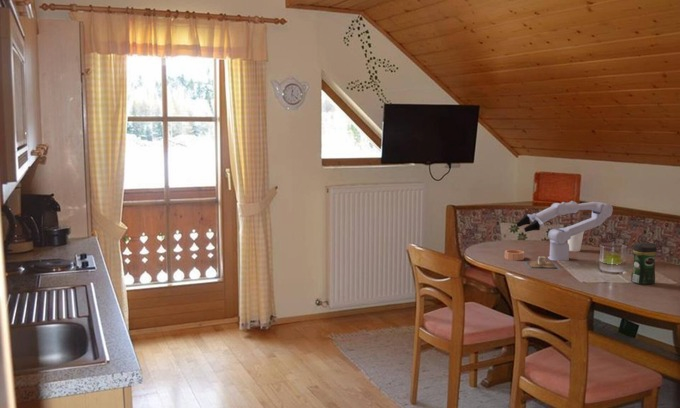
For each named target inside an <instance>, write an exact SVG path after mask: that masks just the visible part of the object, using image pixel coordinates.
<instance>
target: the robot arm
mask: <svg viewBox="0 0 680 408" xmlns="http://www.w3.org/2000/svg"><path fill="white" fill-rule="evenodd" d="M613 208H614V207H613V206H612V205H611V204H610V203H604V202H601V201H588V202H582V203H577V202H576V201H574V200H570V201H569V202H565V201H562V202H561V203H559V202H554V203H552V204H551V205H550V207H547V208H545V209H544V210H543V209H542V210H541V211H539V212H536V213H535V212H534V213H532V214H529V213H528V214H527V213H526V214H524V215H522V218H520V219H519V221H516V226H517V228H520V227H522V226H525V227H524V228H523V229H524V232H525V233H528V232H532V231H540V230H541V228H544V227H545V223H546V222H547V221H550V220H552V219H554V218H555V217H557V216H558V217H559V216H564V215H566V214H575V213H578V212H579V211H584V210H585V211H586V210H589V211H591V217H590V218H587V219H584V220H582V221H580V222H577V223H574V224H572V225H569V227H568V226H566V227H561V228H552V229H550V230H549V231H548V233H547V238H548V239H549V242H550V243H549V256H547V258H548V260H550V261H563V262H564V261H565V262H569V261H570V260H569V258H570V251H569V244H568V240H569V239H570V238H571V236H573V235H576V234H579V233H581V232H584V233H585V232H586V231H588V230H591V229H595V228H596V227H600V226H601V225H602V224H603V223H604V222H605V221H606V220H607V219H608V218H610V217H611V216H612V214H613V211H614V209H613ZM530 221H531V222H530Z"/></svg>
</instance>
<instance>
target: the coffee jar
mask: <svg viewBox="0 0 680 408" xmlns="http://www.w3.org/2000/svg"><path fill="white" fill-rule="evenodd" d="M657 248H658V247H657V244H656V243H653V242H638V243H636V242H635V243H634V244H633V248H632V252H633V265H632V271H631V277H630V281H631V282H632V283H634V284H635V285H636V284H637V285H643V286H645V285H647V286H648V285H653V284H655V282H656V256H657V252H658V251H657V250H658V249H657Z"/></svg>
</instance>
